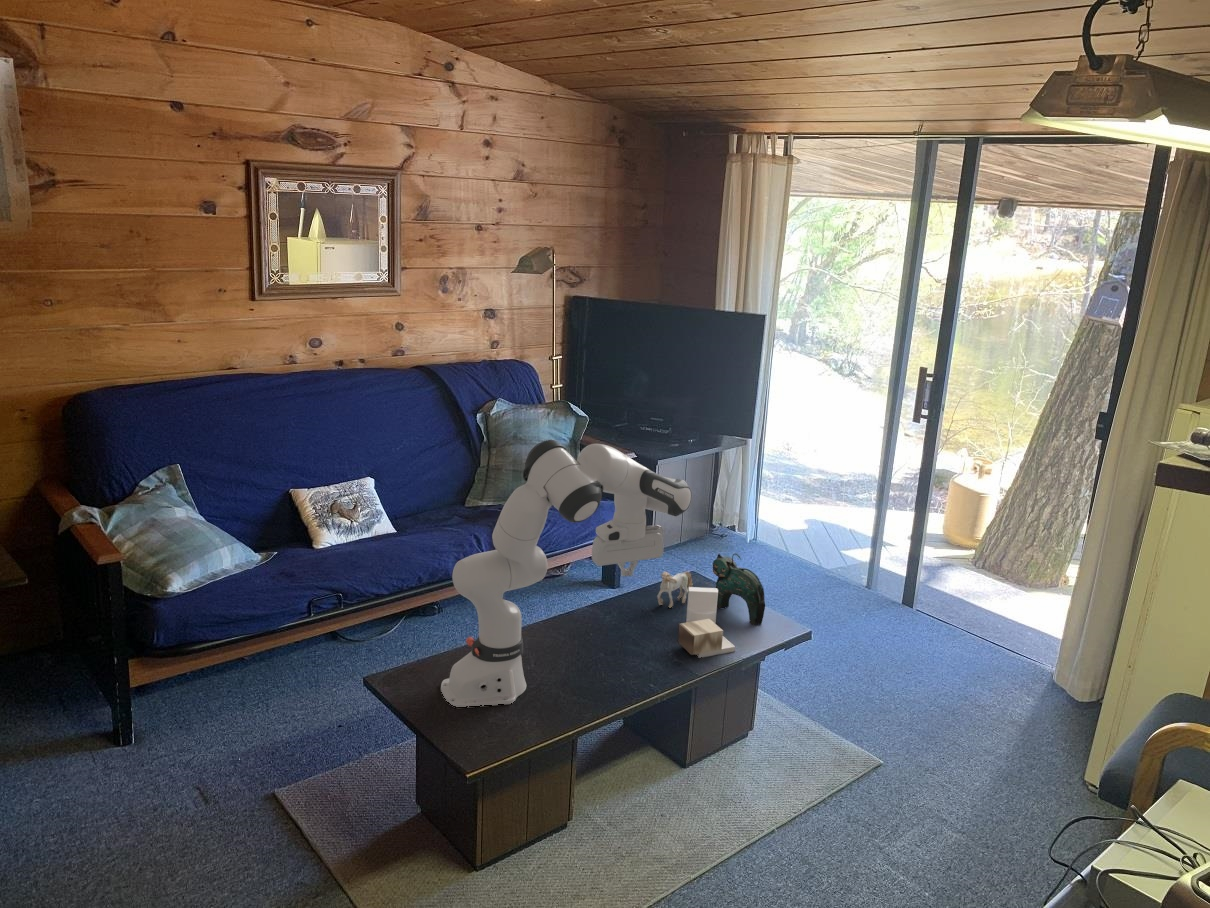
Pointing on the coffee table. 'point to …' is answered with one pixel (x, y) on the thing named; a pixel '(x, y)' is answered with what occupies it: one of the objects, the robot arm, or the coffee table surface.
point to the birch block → (700, 636)
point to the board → (726, 648)
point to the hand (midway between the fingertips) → (626, 575)
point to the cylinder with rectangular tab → (702, 604)
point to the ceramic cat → (739, 587)
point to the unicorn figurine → (674, 585)
